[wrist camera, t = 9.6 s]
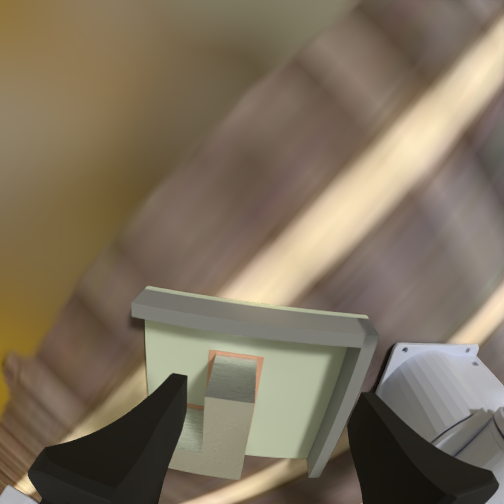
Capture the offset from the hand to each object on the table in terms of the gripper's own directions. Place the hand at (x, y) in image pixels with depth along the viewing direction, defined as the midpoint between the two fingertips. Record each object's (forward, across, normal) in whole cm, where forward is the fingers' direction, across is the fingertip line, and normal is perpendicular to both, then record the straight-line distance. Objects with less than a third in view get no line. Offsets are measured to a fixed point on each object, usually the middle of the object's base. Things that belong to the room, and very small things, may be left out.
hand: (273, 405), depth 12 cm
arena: (+10, +1, +8) cm, 13 cm away
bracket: (+10, +4, +9) cm, 14 cm away
